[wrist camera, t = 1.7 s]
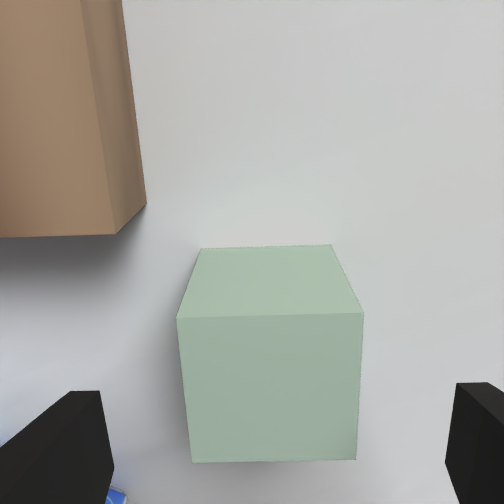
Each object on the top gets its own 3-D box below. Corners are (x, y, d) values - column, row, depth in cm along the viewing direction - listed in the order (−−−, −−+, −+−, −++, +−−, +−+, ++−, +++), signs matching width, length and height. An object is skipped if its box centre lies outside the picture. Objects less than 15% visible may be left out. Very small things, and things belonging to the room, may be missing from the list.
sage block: (210, 358, 15) (191, 462, 11) (201, 247, 14) (175, 318, 9) (327, 355, 15) (355, 459, 11) (330, 243, 13) (364, 312, 9)
